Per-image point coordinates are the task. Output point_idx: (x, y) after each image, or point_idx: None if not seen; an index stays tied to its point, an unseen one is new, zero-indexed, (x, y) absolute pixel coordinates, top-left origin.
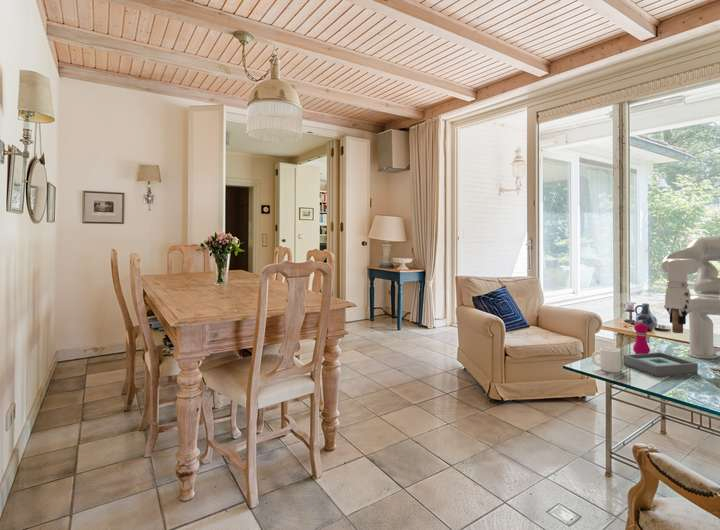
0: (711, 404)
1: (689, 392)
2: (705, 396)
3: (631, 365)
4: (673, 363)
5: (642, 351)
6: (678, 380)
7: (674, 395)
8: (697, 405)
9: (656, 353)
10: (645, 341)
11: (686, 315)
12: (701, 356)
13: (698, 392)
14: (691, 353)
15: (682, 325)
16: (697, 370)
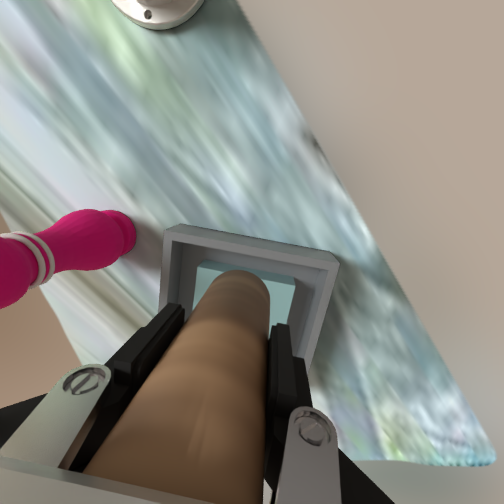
0: (484, 439)
1: (412, 409)
2: (450, 405)
3: None
4: (280, 304)
5: (116, 259)
6: (340, 350)
7: (405, 449)
8: (468, 464)
9: (170, 258)
10: (77, 247)
11: (329, 427)
12: (190, 9)
13: (425, 393)
14: (138, 2)
15: (267, 326)
16: (333, 256)
